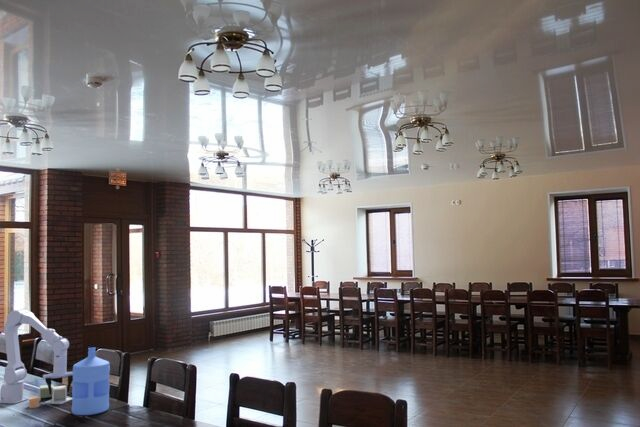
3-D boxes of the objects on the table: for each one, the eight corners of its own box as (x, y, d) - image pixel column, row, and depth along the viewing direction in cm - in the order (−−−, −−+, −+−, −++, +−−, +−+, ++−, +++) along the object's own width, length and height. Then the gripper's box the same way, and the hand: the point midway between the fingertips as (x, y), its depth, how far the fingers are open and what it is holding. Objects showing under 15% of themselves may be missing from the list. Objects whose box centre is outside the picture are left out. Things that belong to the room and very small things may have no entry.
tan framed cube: (51, 399, 256) (52, 386, 256) (65, 397, 259) (65, 385, 259) (52, 402, 251) (52, 389, 251) (66, 400, 254) (66, 387, 254)
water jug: (72, 408, 242) (73, 346, 244) (108, 404, 248) (109, 344, 251) (70, 417, 228) (72, 352, 230) (109, 413, 234) (110, 349, 236)
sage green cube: (39, 398, 261) (39, 385, 261) (52, 396, 264) (53, 384, 264) (39, 400, 256) (39, 388, 256) (53, 399, 258) (53, 386, 259)
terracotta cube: (29, 406, 247) (29, 397, 247) (39, 405, 249) (39, 396, 249) (29, 408, 244) (29, 399, 244) (38, 407, 245) (39, 398, 246)
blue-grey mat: (44, 403, 251) (44, 402, 251) (57, 398, 260) (57, 397, 260) (60, 404, 250) (61, 403, 250) (73, 399, 258) (73, 398, 258)
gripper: (43, 367, 249) (42, 396, 248) (77, 364, 256) (76, 392, 255) (43, 364, 256) (42, 393, 254) (76, 361, 262) (75, 389, 261)
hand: (59, 392), depth 255 cm, fingers open, 7 cm apart
